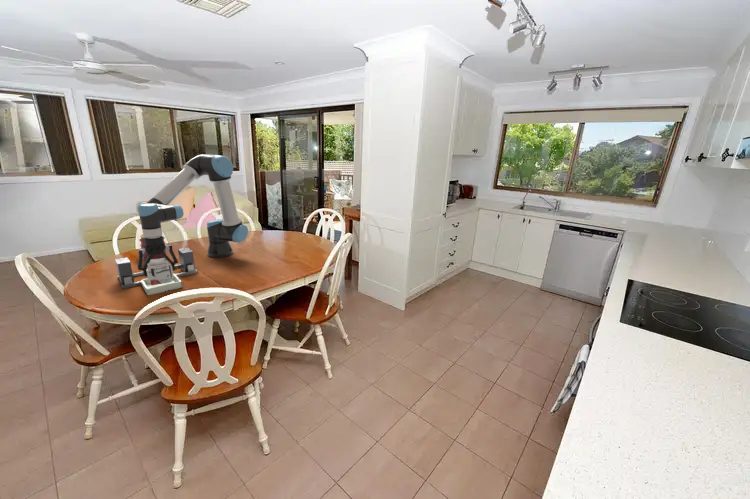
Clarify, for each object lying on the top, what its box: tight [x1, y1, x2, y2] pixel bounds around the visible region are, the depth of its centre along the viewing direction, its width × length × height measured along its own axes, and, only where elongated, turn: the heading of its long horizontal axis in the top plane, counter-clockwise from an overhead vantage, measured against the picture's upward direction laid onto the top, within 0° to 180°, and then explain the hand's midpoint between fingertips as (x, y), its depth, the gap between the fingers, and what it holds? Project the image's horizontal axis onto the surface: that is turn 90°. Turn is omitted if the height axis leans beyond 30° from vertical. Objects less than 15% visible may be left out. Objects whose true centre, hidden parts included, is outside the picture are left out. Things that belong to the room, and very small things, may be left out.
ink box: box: [147, 257, 171, 285], centre depth 154 cm, size 8×5×12 cm, turn 123°
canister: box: [138, 233, 168, 260], centre depth 193 cm, size 13×13×18 cm
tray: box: [140, 272, 183, 296], centre depth 156 cm, size 15×15×3 cm
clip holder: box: [114, 247, 199, 290], centre depth 166 cm, size 34×15×12 cm, turn 135°
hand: (161, 279), depth 155 cm, fingers closed on ink box, 9 cm apart
